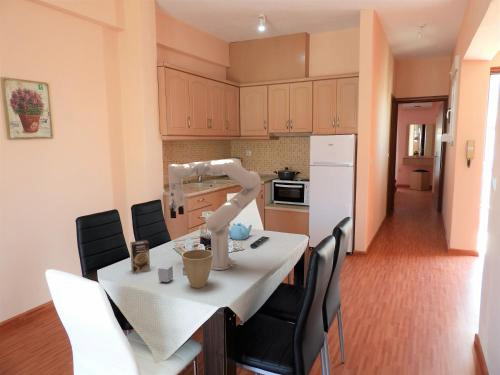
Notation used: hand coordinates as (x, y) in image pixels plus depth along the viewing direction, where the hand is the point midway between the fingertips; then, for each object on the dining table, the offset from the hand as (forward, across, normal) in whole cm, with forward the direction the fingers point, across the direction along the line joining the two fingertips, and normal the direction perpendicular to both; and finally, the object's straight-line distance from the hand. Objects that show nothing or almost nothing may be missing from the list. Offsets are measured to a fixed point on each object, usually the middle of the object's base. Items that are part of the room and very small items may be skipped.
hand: (177, 216), depth 204 cm
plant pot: (+28, -25, -22) cm, 44 cm away
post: (+28, -24, -4) cm, 37 cm away
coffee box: (+28, -13, +17) cm, 36 cm away
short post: (+28, -13, -10) cm, 33 cm away
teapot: (+29, +60, -18) cm, 69 cm away
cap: (+27, -24, -4) cm, 37 cm away
